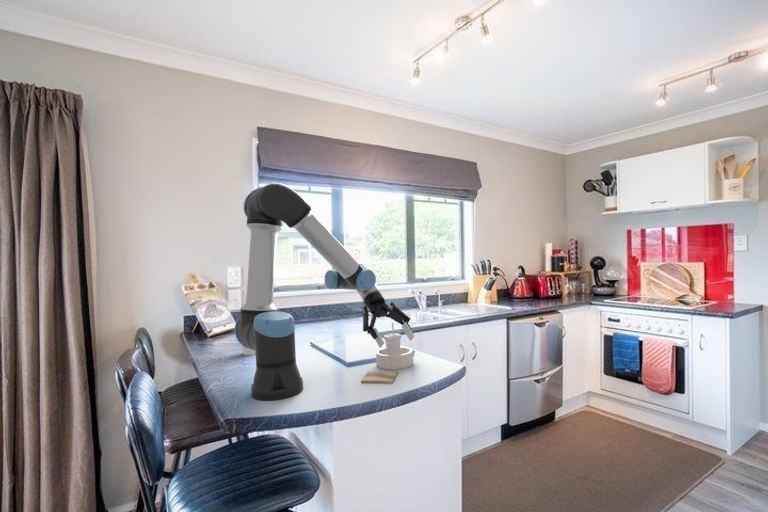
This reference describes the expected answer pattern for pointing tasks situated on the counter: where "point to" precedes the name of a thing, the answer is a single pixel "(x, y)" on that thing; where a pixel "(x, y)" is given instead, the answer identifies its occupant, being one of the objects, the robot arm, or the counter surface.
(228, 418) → the counter surface
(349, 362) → the counter surface
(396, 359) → the bowl
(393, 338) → the smoothie
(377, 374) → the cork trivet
